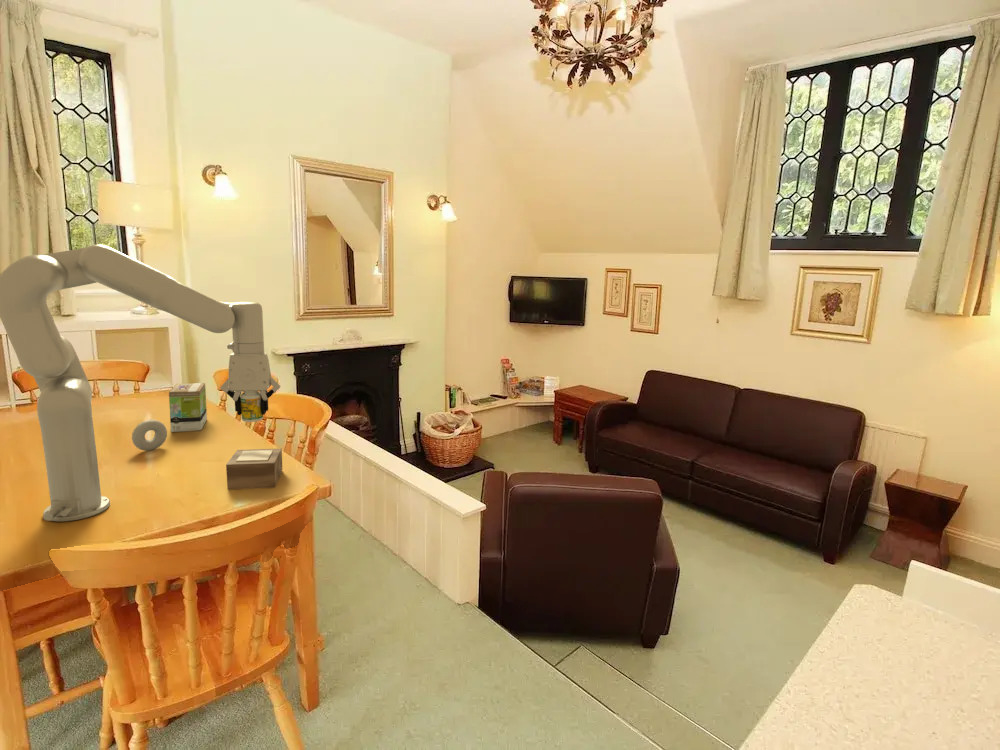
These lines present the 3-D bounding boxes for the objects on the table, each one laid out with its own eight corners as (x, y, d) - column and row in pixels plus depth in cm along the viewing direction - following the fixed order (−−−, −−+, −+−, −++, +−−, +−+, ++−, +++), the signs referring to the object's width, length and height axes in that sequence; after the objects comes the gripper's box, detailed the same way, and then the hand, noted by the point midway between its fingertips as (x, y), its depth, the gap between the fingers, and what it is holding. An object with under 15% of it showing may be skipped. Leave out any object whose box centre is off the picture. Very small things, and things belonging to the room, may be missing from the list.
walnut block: (275, 487, 148) (274, 461, 147) (227, 489, 146) (226, 463, 144) (282, 471, 160) (281, 447, 158) (238, 472, 157) (237, 448, 156)
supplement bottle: (267, 418, 152) (265, 384, 150) (255, 423, 146) (254, 388, 145) (249, 416, 152) (247, 383, 151) (237, 421, 147) (235, 387, 145)
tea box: (202, 430, 194) (199, 390, 191) (170, 432, 190) (167, 391, 187) (207, 419, 208) (205, 381, 205) (177, 421, 204) (174, 382, 201)
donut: (136, 455, 167) (133, 424, 166) (131, 453, 169) (128, 422, 167) (170, 447, 176) (168, 417, 174) (165, 445, 178) (162, 415, 176)
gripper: (209, 350, 140) (214, 418, 144) (280, 350, 144) (283, 416, 147) (218, 346, 147) (222, 410, 151) (285, 346, 151) (287, 409, 154)
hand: (252, 412), depth 149 cm, fingers closed on supplement bottle, 5 cm apart
